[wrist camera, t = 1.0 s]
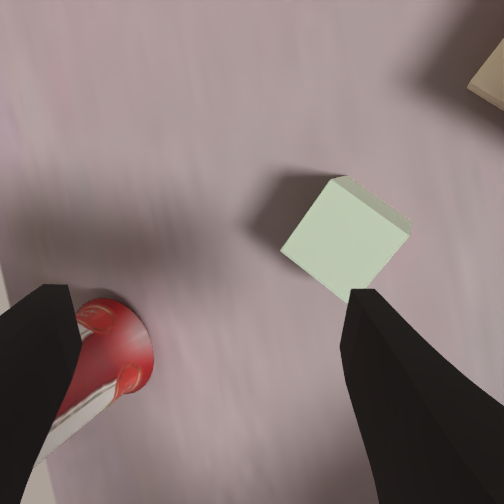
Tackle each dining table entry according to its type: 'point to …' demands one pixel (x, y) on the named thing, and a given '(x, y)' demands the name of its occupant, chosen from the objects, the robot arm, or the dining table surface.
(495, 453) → the robot arm
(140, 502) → the dining table surface
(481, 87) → the birch base slab
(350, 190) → the sage block
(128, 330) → the liquor
